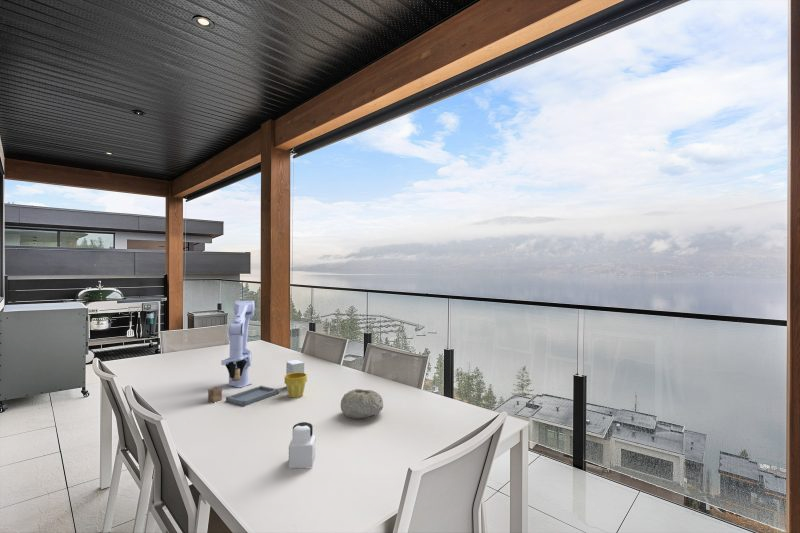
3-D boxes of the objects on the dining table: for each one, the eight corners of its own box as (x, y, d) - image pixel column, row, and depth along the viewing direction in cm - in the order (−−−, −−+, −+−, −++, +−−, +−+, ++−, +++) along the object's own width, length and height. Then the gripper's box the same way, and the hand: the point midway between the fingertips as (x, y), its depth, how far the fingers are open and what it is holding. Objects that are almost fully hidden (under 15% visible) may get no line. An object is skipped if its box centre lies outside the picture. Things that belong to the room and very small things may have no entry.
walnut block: (208, 401, 174) (208, 389, 174) (215, 399, 178) (216, 387, 178) (213, 403, 172) (213, 390, 172) (221, 400, 176) (221, 388, 176)
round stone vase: (365, 404, 173) (365, 382, 173) (392, 415, 160) (392, 391, 160) (332, 414, 160) (332, 390, 161) (358, 427, 148) (358, 401, 148)
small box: (304, 388, 195) (304, 362, 195) (292, 390, 191) (292, 364, 191) (297, 384, 201) (297, 359, 201) (285, 386, 197) (286, 361, 197)
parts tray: (226, 401, 174) (226, 397, 174) (261, 389, 192) (261, 385, 192) (244, 406, 169) (244, 401, 169) (278, 393, 186) (278, 389, 186)
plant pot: (280, 395, 183) (280, 375, 183) (298, 390, 191) (299, 370, 191) (291, 400, 176) (292, 379, 176) (311, 395, 184) (311, 375, 184)
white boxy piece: (292, 457, 124) (293, 420, 124) (315, 457, 125) (315, 419, 125) (288, 469, 117) (288, 429, 117) (312, 468, 117) (312, 429, 117)
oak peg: (230, 380, 184) (230, 368, 184) (236, 378, 187) (236, 367, 187) (235, 381, 182) (235, 370, 182) (241, 379, 185) (241, 368, 185)
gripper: (228, 352, 176) (228, 381, 176) (254, 346, 189) (253, 374, 189) (218, 350, 180) (218, 379, 180) (244, 345, 193) (244, 372, 193)
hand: (235, 376), depth 185 cm, fingers closed on oak peg, 4 cm apart
